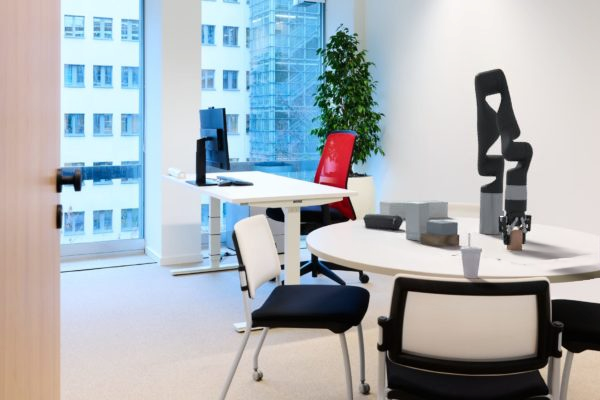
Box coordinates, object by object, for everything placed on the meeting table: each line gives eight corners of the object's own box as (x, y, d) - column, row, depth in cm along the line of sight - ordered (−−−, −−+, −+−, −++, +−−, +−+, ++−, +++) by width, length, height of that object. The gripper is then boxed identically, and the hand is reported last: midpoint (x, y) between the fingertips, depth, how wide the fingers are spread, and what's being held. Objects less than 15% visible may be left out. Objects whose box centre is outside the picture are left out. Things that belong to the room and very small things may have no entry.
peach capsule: (514, 248, 232) (514, 228, 231) (525, 250, 227) (525, 230, 227) (503, 249, 229) (504, 229, 229) (514, 250, 225) (515, 231, 224)
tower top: (442, 232, 244) (442, 220, 244) (457, 234, 237) (457, 222, 237) (426, 233, 240) (426, 221, 240) (441, 235, 233) (441, 223, 233)
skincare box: (430, 240, 251) (431, 202, 250) (419, 241, 248) (419, 203, 247) (415, 238, 258) (416, 201, 257) (404, 239, 255) (404, 201, 254)
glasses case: (405, 231, 279) (406, 214, 279) (397, 234, 270) (397, 216, 269) (367, 229, 288) (368, 212, 287) (358, 231, 279) (358, 213, 278)
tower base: (441, 243, 246) (441, 231, 246) (459, 246, 237) (459, 234, 237) (420, 244, 241) (420, 233, 241) (438, 248, 233) (438, 236, 232)
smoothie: (464, 276, 197) (464, 231, 196) (484, 278, 194) (485, 232, 193) (456, 280, 192) (457, 233, 191) (477, 282, 188) (478, 235, 187)
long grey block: (389, 225, 306) (389, 203, 305) (379, 223, 316) (379, 201, 316) (447, 223, 317) (448, 201, 316) (436, 221, 327) (436, 200, 326)
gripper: (522, 196, 234) (520, 242, 235) (493, 197, 227) (491, 244, 228) (538, 198, 227) (537, 244, 228) (509, 199, 220) (507, 247, 222)
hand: (514, 244), depth 228 cm, fingers open, 7 cm apart
